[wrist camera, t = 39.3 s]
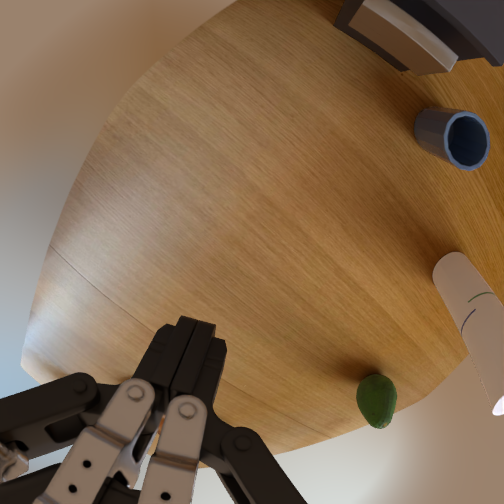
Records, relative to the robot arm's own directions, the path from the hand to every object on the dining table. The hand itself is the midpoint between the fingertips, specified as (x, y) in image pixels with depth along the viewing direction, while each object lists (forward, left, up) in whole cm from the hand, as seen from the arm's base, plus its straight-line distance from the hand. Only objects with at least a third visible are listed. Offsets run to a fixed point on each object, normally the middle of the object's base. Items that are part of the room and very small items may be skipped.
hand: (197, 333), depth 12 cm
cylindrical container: (+32, -7, -29) cm, 44 cm away
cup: (+20, +12, -29) cm, 37 cm away
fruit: (+30, -34, -29) cm, 54 cm away
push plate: (+8, +17, -16) cm, 25 cm away
